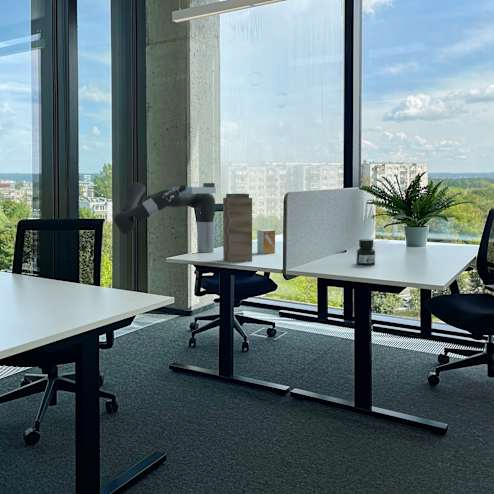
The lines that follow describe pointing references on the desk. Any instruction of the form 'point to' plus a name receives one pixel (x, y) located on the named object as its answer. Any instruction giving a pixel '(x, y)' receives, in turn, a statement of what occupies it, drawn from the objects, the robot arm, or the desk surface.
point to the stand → (237, 228)
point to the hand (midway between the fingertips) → (184, 187)
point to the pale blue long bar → (199, 189)
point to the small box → (265, 241)
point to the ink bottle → (365, 252)
